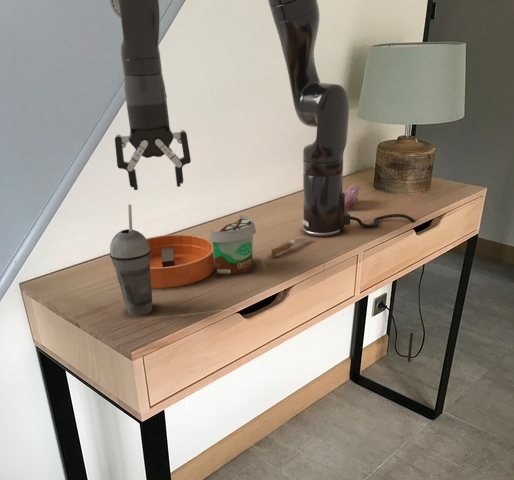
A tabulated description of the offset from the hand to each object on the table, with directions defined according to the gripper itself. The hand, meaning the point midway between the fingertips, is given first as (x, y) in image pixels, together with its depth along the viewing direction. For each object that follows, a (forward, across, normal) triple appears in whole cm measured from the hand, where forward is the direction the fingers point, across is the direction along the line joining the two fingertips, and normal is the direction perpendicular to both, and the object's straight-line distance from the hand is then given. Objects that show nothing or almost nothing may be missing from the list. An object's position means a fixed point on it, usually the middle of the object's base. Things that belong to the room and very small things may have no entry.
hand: (157, 187), depth 116 cm
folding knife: (+18, +28, +5) cm, 34 cm away
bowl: (+18, 0, 0) cm, 18 cm away
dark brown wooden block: (+17, 0, -1) cm, 17 cm away
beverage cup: (+18, -6, -19) cm, 27 cm away
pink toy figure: (+18, +50, +33) cm, 62 cm away
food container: (+18, +16, -5) cm, 24 cm away
